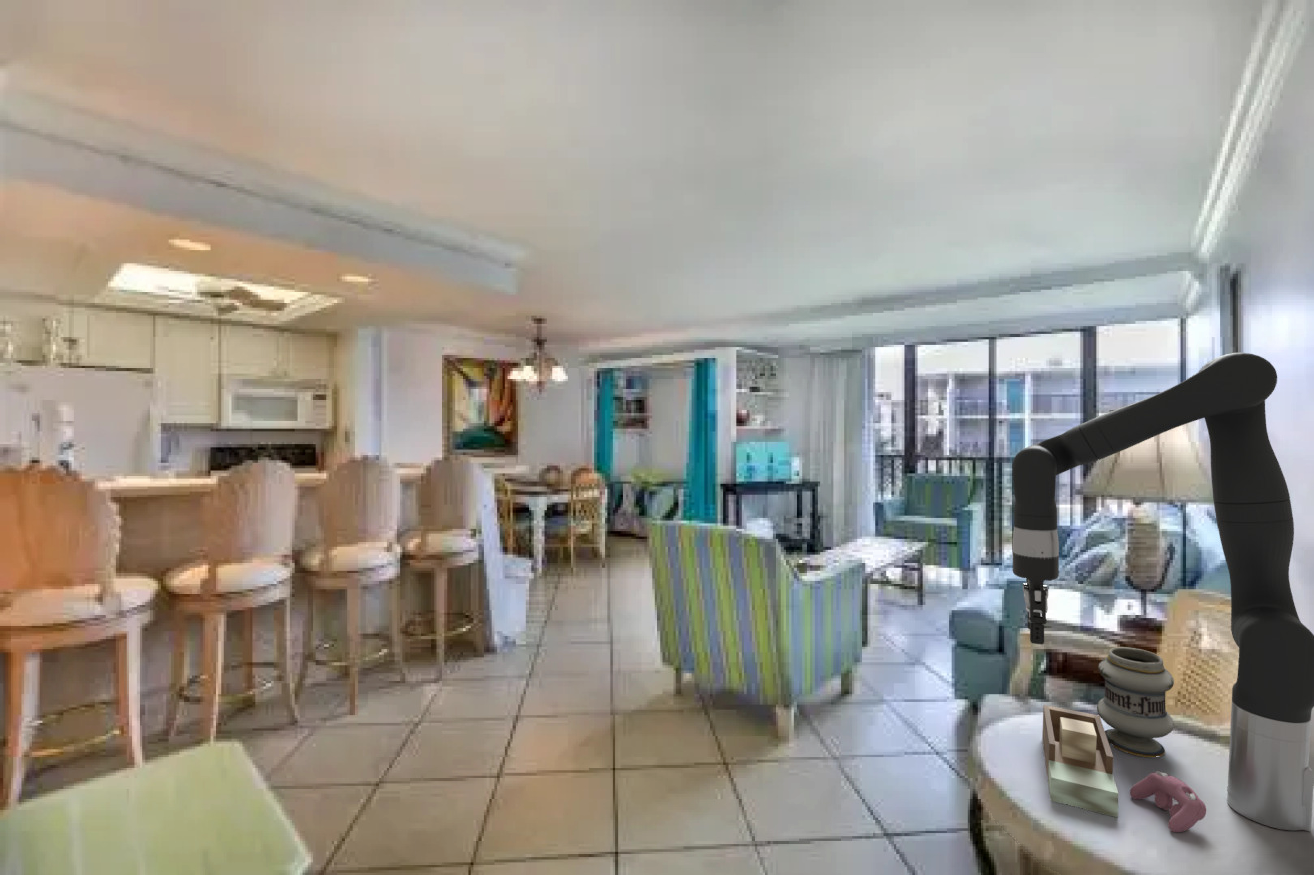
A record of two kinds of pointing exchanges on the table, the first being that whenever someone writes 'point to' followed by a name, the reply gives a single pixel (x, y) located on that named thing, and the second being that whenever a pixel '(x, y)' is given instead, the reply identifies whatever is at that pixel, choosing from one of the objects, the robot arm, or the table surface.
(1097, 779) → the channel
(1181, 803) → the video game controller
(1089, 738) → the maple block
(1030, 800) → the table surface
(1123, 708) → the apothecary jar
